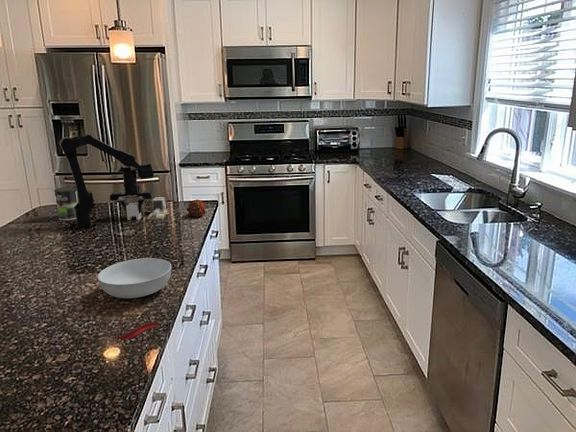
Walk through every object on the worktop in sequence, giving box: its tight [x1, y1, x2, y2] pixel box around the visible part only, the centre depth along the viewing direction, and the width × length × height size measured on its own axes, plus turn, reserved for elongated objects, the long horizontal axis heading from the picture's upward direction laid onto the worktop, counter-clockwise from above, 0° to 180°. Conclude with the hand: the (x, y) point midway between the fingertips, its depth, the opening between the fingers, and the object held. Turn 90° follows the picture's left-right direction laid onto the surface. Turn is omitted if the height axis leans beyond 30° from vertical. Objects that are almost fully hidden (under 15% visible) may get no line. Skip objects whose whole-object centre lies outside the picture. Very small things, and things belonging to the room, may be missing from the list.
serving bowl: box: [97, 257, 172, 299], centre depth 139 cm, size 21×21×7 cm
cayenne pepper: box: [117, 322, 162, 340], centre depth 117 cm, size 12×5×2 cm, turn 117°
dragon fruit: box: [186, 199, 207, 218], centre depth 221 cm, size 8×8×12 cm
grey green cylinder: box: [53, 186, 78, 221], centre depth 223 cm, size 10×10×14 cm
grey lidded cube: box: [125, 202, 142, 221], centre depth 219 cm, size 6×5×7 cm
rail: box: [146, 196, 169, 221], centre depth 223 cm, size 16×7×7 cm, turn 5°
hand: (134, 213), depth 219 cm, fingers closed on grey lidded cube, 5 cm apart
